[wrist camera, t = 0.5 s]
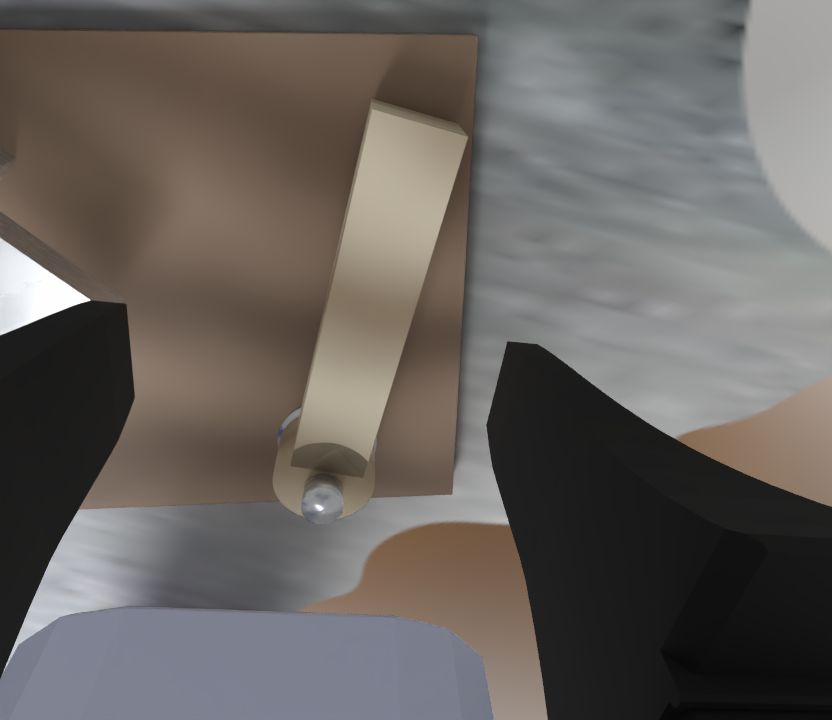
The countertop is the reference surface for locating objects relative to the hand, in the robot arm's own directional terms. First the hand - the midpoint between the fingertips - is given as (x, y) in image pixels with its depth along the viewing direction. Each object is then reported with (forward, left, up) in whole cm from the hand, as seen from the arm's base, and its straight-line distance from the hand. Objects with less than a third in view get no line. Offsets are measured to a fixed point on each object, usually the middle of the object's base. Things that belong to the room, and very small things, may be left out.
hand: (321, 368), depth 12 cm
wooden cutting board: (-3, +6, -10) cm, 12 cm away
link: (-3, -1, -9) cm, 9 cm away
